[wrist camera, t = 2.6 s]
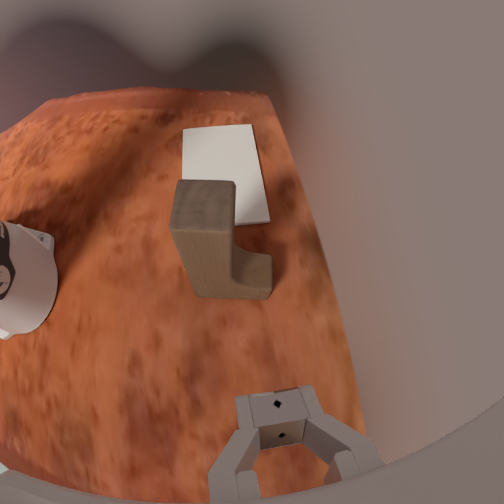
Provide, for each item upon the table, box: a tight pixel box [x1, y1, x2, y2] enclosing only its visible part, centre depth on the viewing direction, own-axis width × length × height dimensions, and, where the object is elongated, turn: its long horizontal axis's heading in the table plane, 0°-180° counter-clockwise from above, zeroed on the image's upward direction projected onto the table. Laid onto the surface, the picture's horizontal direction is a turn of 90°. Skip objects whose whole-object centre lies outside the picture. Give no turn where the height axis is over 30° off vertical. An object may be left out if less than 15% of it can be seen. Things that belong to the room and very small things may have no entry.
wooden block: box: [169, 179, 273, 300], centre depth 28 cm, size 9×4×18 cm, turn 89°
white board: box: [182, 124, 270, 226], centre depth 43 cm, size 20×12×1 cm, turn 8°
